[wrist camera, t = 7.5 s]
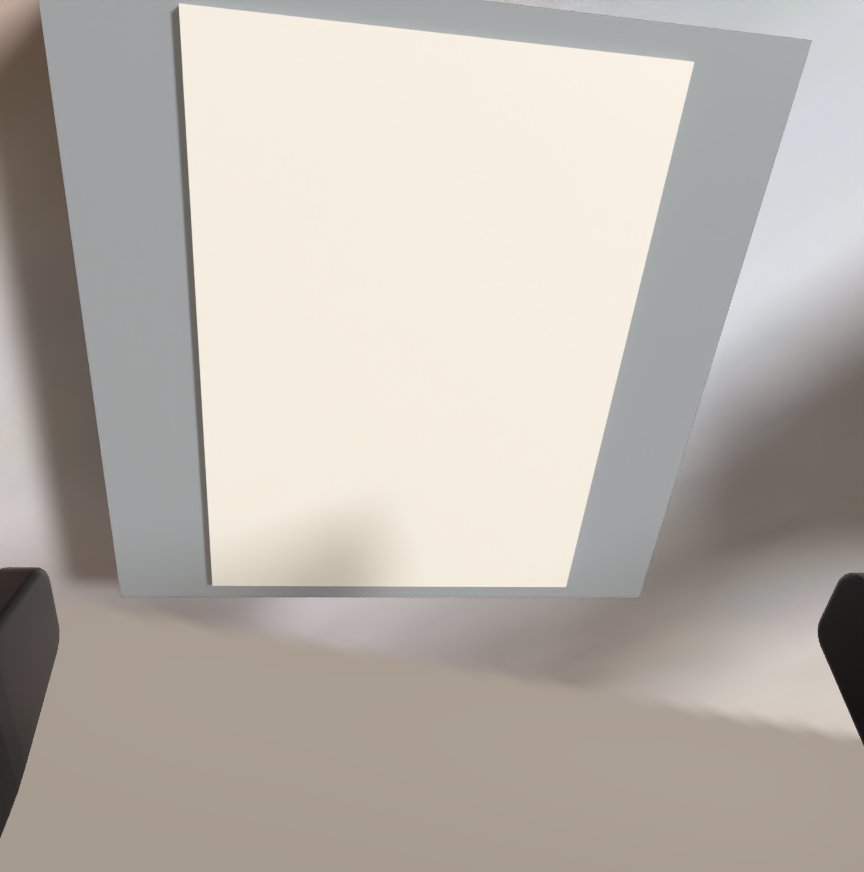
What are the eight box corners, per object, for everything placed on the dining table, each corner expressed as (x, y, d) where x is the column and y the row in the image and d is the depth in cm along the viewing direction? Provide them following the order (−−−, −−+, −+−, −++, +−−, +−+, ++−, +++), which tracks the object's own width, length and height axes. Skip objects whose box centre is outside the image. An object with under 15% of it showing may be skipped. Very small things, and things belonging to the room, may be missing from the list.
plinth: (728, 35, 15) (818, 40, 12) (601, 523, 21) (642, 603, 18) (92, -41, 13) (26, -56, 10) (150, 516, 19) (117, 603, 16)
